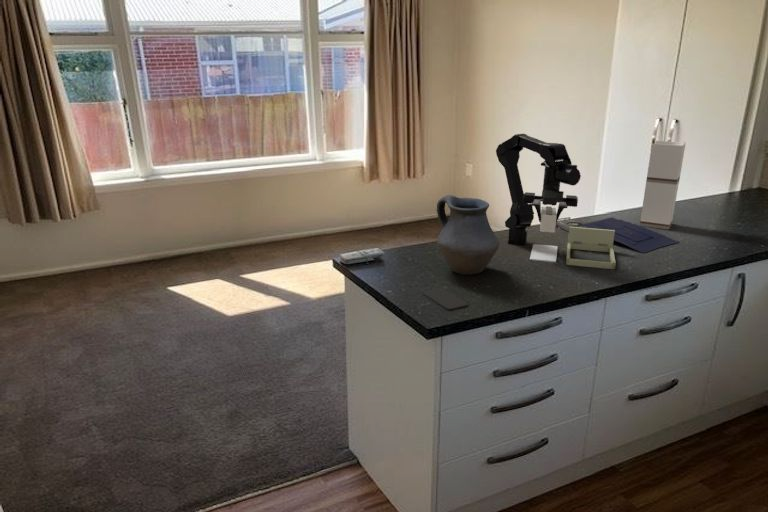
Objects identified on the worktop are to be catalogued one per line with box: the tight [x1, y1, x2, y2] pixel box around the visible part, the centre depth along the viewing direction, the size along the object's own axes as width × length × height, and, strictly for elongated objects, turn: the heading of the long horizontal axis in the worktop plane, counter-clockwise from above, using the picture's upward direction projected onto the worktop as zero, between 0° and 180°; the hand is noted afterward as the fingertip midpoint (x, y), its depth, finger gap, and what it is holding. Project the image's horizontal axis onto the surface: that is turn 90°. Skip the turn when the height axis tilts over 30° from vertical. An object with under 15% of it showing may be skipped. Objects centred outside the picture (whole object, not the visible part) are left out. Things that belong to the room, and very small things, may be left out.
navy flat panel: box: [581, 216, 679, 254], centre depth 229 cm, size 24×30×4 cm
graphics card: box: [555, 216, 587, 232], centre depth 240 cm, size 17×4×12 cm
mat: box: [529, 243, 559, 263], centre depth 211 cm, size 9×18×1 cm, turn 162°
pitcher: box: [436, 194, 500, 276], centre depth 191 cm, size 21×22×25 cm
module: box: [539, 205, 557, 233], centre depth 207 cm, size 5×12×7 cm, turn 166°
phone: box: [421, 287, 468, 311], centre depth 171 cm, size 7×1×15 cm
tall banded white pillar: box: [639, 140, 686, 230], centre depth 242 cm, size 11×11×35 cm
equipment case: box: [565, 227, 617, 270], centre depth 206 cm, size 16×21×8 cm
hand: (547, 222), depth 208 cm, fingers closed on module, 5 cm apart
